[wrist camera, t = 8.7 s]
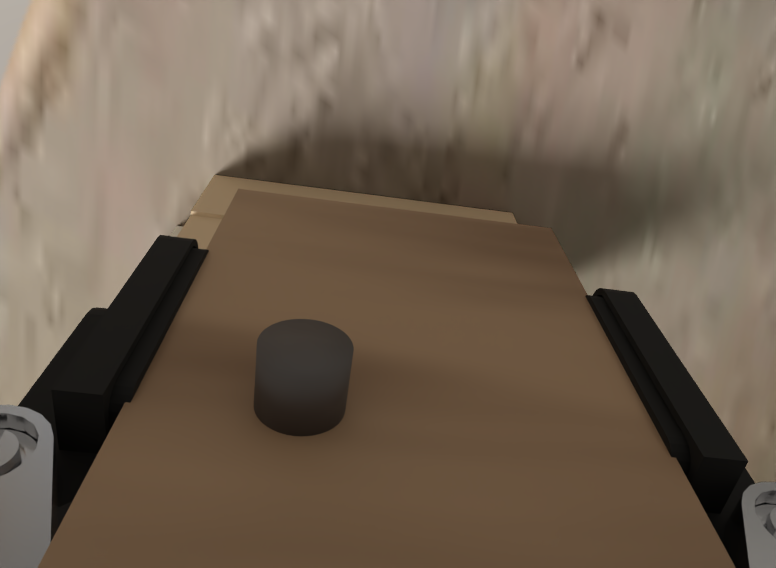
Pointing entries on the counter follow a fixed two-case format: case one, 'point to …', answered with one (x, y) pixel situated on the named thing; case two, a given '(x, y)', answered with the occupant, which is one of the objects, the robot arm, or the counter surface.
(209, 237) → the wall board
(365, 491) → the wall box
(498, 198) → the counter surface
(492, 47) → the counter surface
